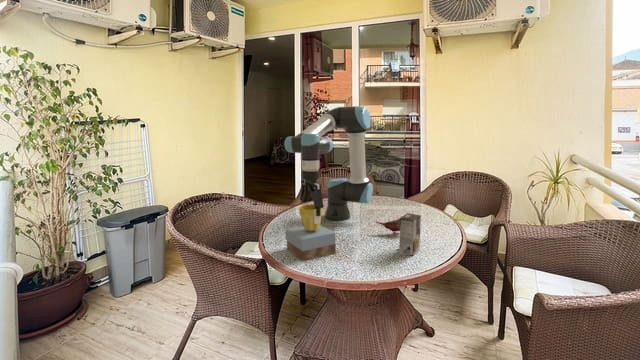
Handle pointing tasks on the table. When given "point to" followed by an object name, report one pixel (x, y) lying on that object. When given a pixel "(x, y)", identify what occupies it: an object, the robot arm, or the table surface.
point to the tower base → (312, 251)
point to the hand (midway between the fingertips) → (311, 219)
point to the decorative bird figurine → (392, 225)
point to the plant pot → (309, 217)
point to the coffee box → (409, 234)
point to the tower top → (310, 237)
